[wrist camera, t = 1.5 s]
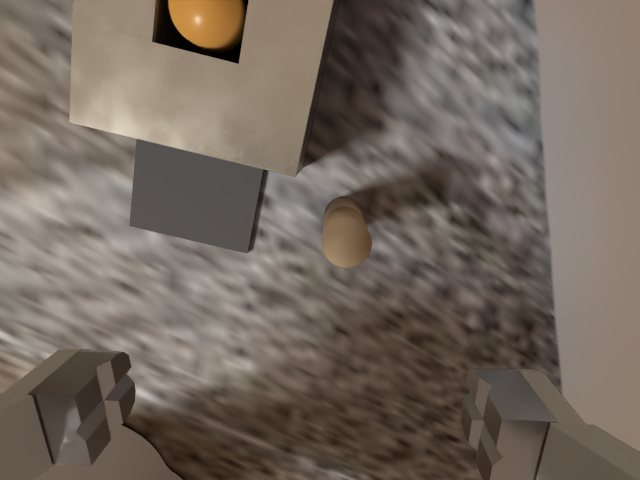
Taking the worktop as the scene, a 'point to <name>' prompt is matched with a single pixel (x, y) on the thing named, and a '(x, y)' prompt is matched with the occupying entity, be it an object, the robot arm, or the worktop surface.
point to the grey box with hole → (203, 79)
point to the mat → (194, 196)
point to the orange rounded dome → (210, 22)
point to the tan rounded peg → (345, 233)
